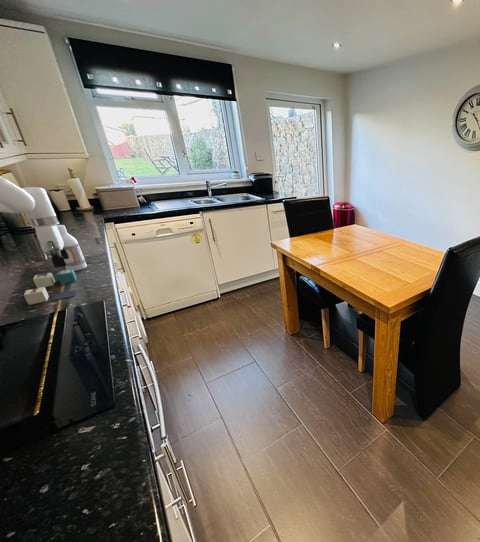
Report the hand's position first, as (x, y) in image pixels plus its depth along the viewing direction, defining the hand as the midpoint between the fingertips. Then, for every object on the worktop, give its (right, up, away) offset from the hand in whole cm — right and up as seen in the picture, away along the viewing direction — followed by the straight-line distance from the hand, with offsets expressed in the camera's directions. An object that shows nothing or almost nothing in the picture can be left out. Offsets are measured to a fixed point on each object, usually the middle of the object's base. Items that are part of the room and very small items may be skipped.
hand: (62, 262), depth 114 cm
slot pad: (+10, -13, -8) cm, 18 cm away
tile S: (0, -7, +3) cm, 8 cm away
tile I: (+5, -14, -12) cm, 19 cm away
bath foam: (-9, -2, +14) cm, 17 cm away
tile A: (-5, -9, -1) cm, 10 cm away
